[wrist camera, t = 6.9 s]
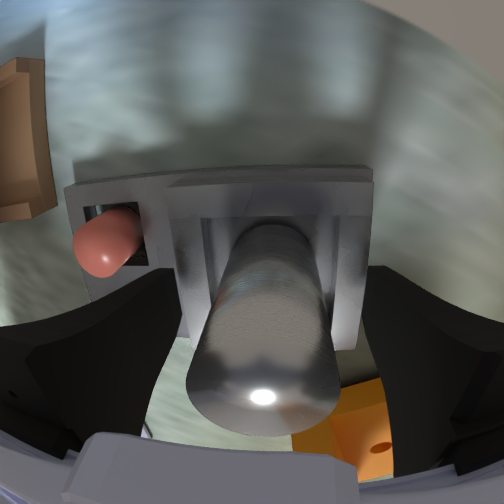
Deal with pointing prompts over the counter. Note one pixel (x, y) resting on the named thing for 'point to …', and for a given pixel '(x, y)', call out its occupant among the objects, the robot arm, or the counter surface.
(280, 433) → the steel round bar
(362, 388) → the bracket
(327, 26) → the counter surface
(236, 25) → the counter surface
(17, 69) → the brown piece
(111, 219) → the button
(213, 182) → the socket block
